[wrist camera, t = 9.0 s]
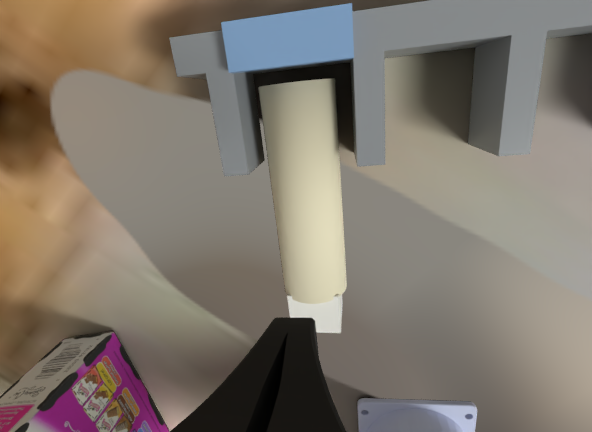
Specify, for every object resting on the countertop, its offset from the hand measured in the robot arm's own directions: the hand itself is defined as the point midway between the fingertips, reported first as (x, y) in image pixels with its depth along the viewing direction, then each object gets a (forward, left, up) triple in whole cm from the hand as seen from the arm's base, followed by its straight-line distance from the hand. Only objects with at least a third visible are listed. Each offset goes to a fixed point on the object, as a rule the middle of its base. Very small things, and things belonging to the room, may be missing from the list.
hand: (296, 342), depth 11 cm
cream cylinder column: (+2, 0, -10) cm, 10 cm away
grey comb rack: (+8, -6, -9) cm, 13 cm away
